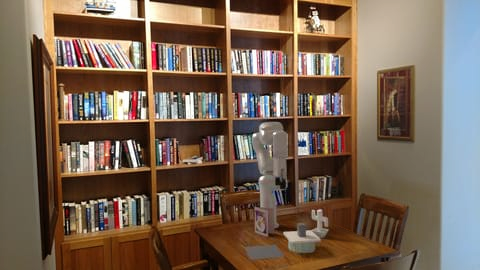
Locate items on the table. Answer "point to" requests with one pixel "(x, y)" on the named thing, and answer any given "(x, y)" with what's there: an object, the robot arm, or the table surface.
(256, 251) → the mat
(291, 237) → the lid
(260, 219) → the greeting card
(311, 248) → the bowl
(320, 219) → the figurine
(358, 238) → the table surface
